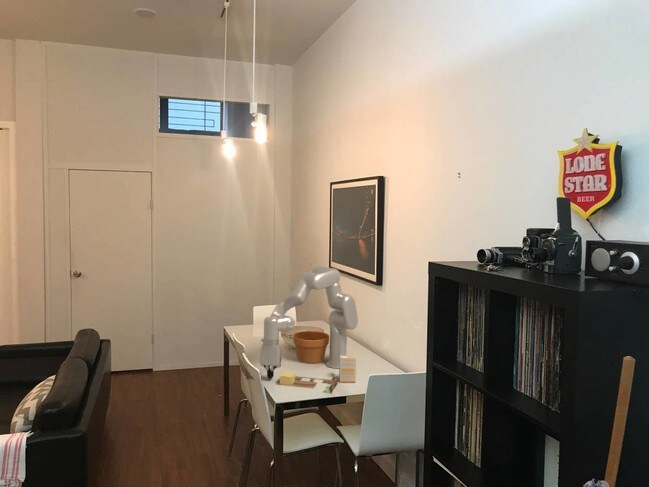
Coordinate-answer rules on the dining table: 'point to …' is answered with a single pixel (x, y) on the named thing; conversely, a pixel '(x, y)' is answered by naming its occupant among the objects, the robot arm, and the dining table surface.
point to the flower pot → (310, 346)
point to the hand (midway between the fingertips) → (270, 378)
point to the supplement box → (347, 368)
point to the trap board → (313, 383)
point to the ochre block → (287, 378)
